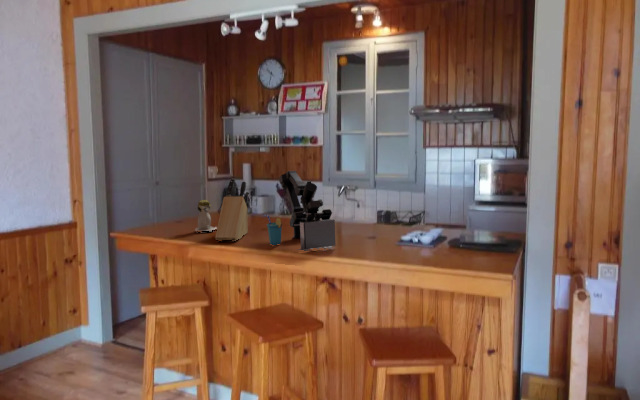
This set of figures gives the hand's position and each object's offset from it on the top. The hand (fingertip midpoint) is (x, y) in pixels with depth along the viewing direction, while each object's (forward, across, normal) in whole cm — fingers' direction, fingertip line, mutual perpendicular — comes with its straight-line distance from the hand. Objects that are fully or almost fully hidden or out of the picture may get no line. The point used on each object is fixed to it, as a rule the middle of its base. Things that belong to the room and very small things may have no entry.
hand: (317, 230), depth 229 cm
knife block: (-29, -30, +41) cm, 58 cm away
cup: (-7, -17, +19) cm, 26 cm away
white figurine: (-46, -42, +57) cm, 84 cm away
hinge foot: (+9, -9, +4) cm, 13 cm away
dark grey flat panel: (+8, -2, +3) cm, 8 cm away
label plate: (+7, +1, +5) cm, 9 cm away
